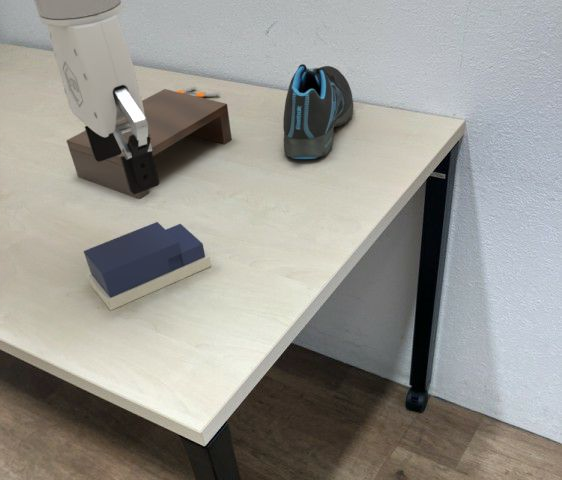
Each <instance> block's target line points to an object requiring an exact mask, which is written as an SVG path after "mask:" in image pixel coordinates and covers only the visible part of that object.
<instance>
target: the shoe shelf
mask: <svg viewBox="0 0 562 480" xmlns="http://www.w3.org/2000/svg"><path fill="white" fill-rule="evenodd" d="M142 103H143V108H144V114H145V118H146V119H147V122H148V133H149V135H150V136H149V137H150V138H151V140H150V143H151V146H152V154H153V157H154V156H156V155H158V154H159V153H161V152H163V151H165V150H166V149H168V148H169V147H171V146H172V145H174V144H175V143H177V142H179V141H181V140H182V139H184V138H185V137H187V136H192V137H197V138H200V139H204V140H208V141H211V142H214V143H219V144H221V145H226V144H227V143H229V142H230V141H232V132H231V123H230V115H229V108H228V104H227V103H225V102H221V101H217V100H212V99H209V98H204V97H197V96H196V95H193V94H184V93H179V92H176V91H174V90H170V89H166V88H164V89H162V90H160V91H158V92H156V93H154V94H152V95H151V96H148V97H146V98H145V99H142ZM125 122H128V121H127V119H125V120H122V121H119V122H116V125H119V124H122V123H125ZM131 135H132V132H131V131H129V132H126V133H123V136H124V138H125V140H126V142H127V144H128V140H129V136H131ZM66 144H67V148H68V150H69V153H70V157H71V160H72V162H73V166H74V168H75V172H76V174H77V177H78V178H81V179H83V180H87V181H89V182H92V183H95V184H98V185H101V186H103V187H106V188H108V189H112V190H114V191H117V192H120V193H123V194H125V195H128V196H132V197H134V198H137V199H139V200H140V199H142V198H144V197H145V196H147V195H149V194H150V191H149V190H150V189H148V190H145V191H143V192H140V193H137V194H133V193H132V192H130V190H129V186H128V183H127V179H126V175H125V172H124V168H123V165H122V161H121V158H120V157H123V156H124V155H123V153H121V154H120V155H117V156H114V157H112V158H109V159H106V160H103V161H100V162H98V161H97V160H96V159H95V158H94V155H93V152H92V149H91V146H90V142H89V139H88V136H87V133H86V130H83V131H82V132H79V133H78V134H76V135H74V136H72V137H70V138H69V139H66Z"/></svg>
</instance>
